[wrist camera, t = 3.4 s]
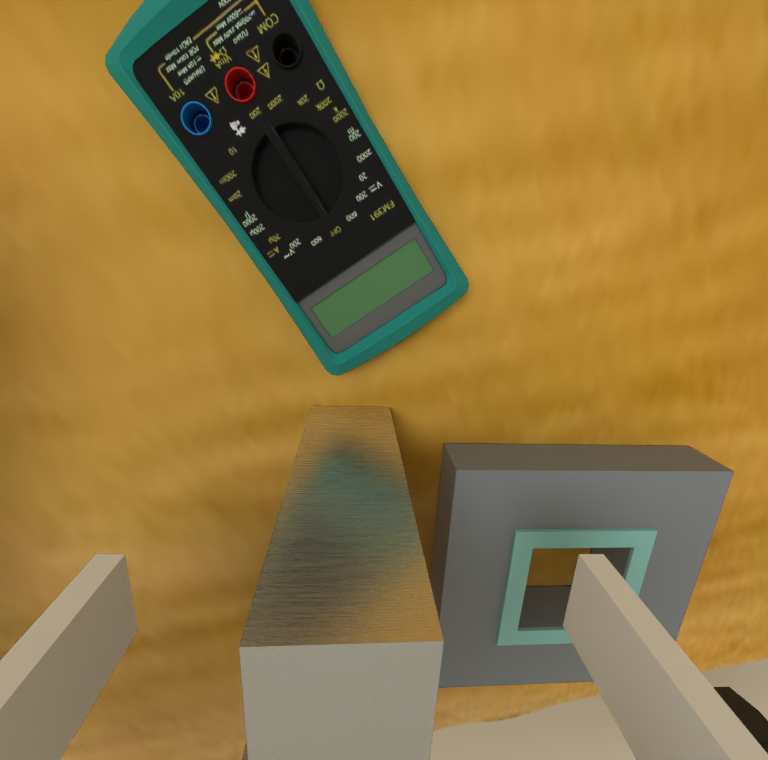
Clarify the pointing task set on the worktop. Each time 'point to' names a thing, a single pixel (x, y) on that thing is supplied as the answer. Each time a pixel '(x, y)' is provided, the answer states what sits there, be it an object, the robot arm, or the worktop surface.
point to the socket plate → (560, 546)
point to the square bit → (343, 605)
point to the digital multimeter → (290, 167)
